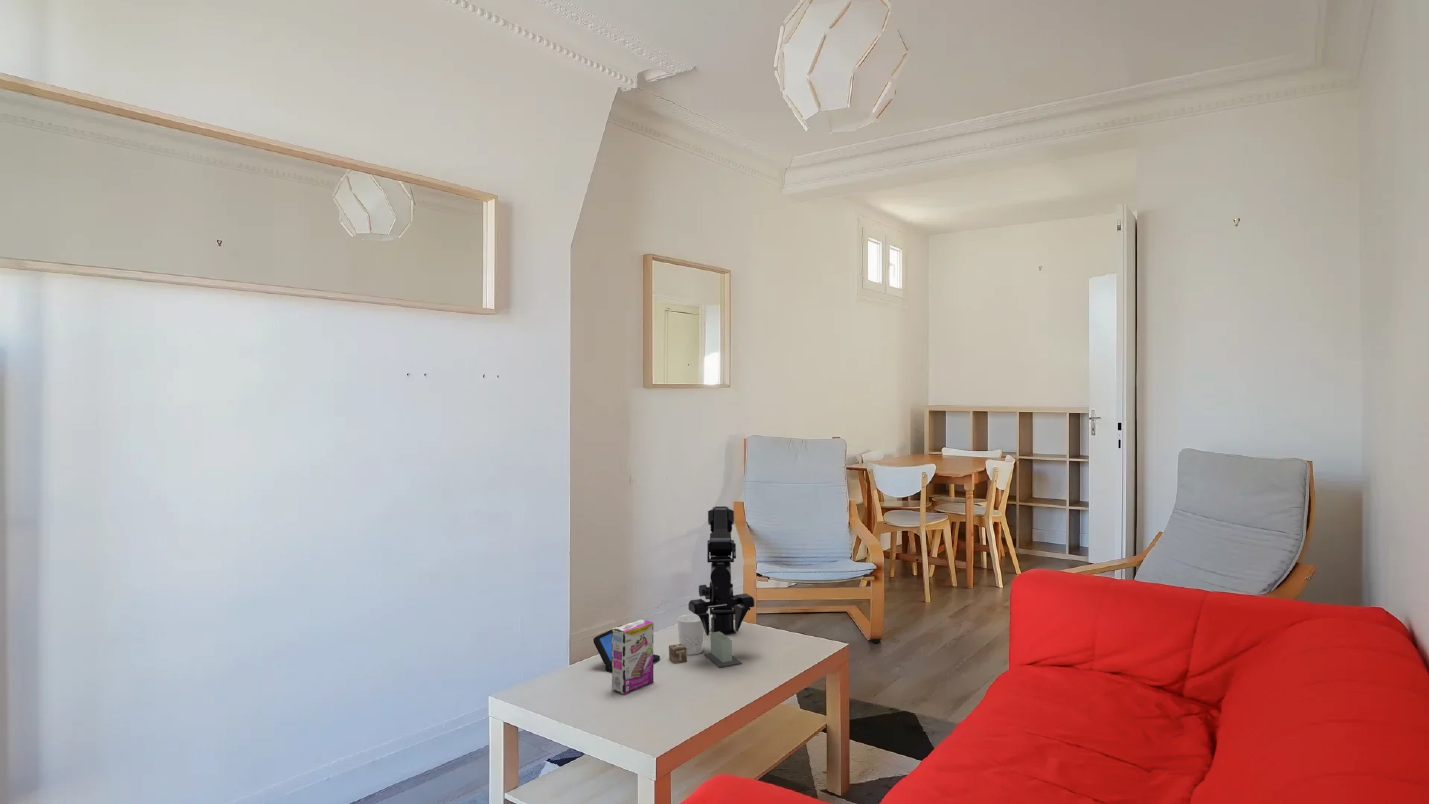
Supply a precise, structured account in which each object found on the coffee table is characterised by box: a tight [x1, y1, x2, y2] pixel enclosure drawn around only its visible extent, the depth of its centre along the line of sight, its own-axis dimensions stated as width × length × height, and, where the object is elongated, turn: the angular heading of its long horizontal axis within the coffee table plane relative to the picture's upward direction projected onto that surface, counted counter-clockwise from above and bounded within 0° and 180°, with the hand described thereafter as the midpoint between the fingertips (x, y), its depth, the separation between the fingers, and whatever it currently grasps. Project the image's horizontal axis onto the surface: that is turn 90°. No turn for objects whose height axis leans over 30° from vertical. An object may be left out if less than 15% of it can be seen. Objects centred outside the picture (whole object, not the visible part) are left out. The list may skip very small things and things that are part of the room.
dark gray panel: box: [703, 651, 743, 669], centre depth 221 cm, size 7×12×1 cm, turn 22°
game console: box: [592, 624, 661, 673], centre depth 219 cm, size 16×14×9 cm
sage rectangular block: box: [709, 631, 733, 662], centre depth 222 cm, size 9×3×6 cm, turn 22°
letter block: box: [668, 643, 688, 664], centre depth 221 cm, size 4×4×4 cm
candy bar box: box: [611, 619, 654, 695], centre depth 201 cm, size 11×5×16 cm, turn 141°
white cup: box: [677, 614, 705, 656], centre depth 229 cm, size 8×8×10 cm
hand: (722, 633), depth 221 cm, fingers open, 9 cm apart
